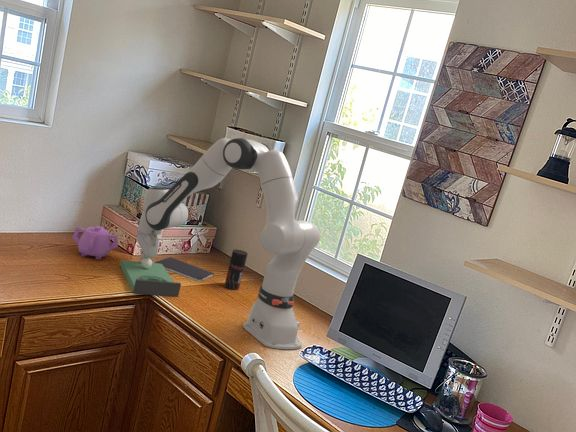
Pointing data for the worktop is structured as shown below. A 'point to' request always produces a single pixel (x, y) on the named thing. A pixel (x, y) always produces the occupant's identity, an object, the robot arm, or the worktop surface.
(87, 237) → the pot
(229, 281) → the deodorant
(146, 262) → the ball
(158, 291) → the green
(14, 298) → the worktop surface
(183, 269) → the notebook
